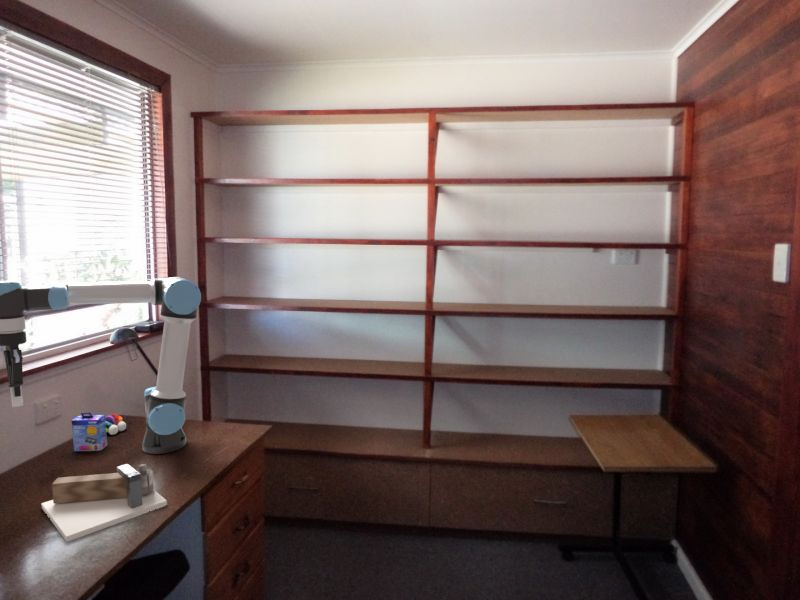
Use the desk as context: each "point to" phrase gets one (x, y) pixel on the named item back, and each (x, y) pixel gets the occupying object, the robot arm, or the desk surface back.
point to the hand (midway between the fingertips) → (17, 405)
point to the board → (96, 513)
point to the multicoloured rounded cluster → (114, 424)
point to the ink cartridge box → (89, 432)
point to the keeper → (131, 485)
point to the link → (98, 486)
